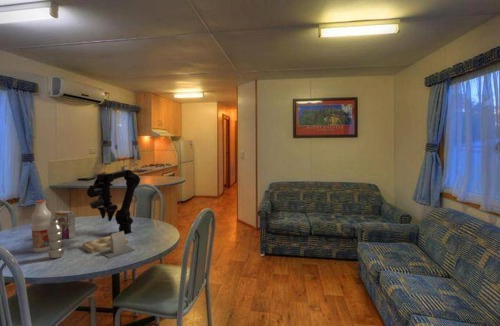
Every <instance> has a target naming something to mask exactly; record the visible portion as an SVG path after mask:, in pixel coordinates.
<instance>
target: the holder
mask: <svg viewBox="0 0 500 326" xmlns="http://www.w3.org/2000/svg"><path fill="white" fill-rule="evenodd" d="M125 238H126V244H128V243H129V239H128V237H125ZM110 239H111V235H107V236H104V237H101V238H97V239H93V240H89V241H85V242H82V243H81V247H82V248H83V250H86V251H88V253H91V254H95V253H98V252H101V251H104V250H108V249H111V246H110Z"/></svg>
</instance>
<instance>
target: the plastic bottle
mask: <svg viewBox="0 0 500 326" xmlns="http://www.w3.org/2000/svg"><path fill="white" fill-rule="evenodd" d="M58 223H59V222H58V219H55V218H53V219H52V218H51V220H50V226H49V228H48V230H47V234H48V238H49V250H48V251H47V252H48V255H47V256H48V258H49V259H58V258H60V257H62V256H63V255H64V251H65V250H64V247H63V243H62V239H63V238H62V227H61V226H60V225H59V224H58Z"/></svg>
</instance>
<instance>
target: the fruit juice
mask: <svg viewBox="0 0 500 326" xmlns="http://www.w3.org/2000/svg"><path fill="white" fill-rule="evenodd" d="M46 203H47V200H46V199H38V200H34V204H35V209H34V211H33V212H32V214H31V215H30V216H31V218H30V219H31V222H32V224H31V237H32V238H31V239H32V250H33V252H34V253H42V252H48V251H49V238H48V234H47V230H48V228H49V226H50V220H52V212H51V211H50V210H49V209H48V207H47V205H46Z"/></svg>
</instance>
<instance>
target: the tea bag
mask: <svg viewBox="0 0 500 326" xmlns="http://www.w3.org/2000/svg"><path fill="white" fill-rule="evenodd" d="M110 236H111V239H110V246H111V248H110V249H111V252H113V253H115V252H119V251H122V250H125V249H126V245H127V243H126V238H127V237H126V234H124V231H121V232H119V231H118V232H113V233H111V234H110Z"/></svg>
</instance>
